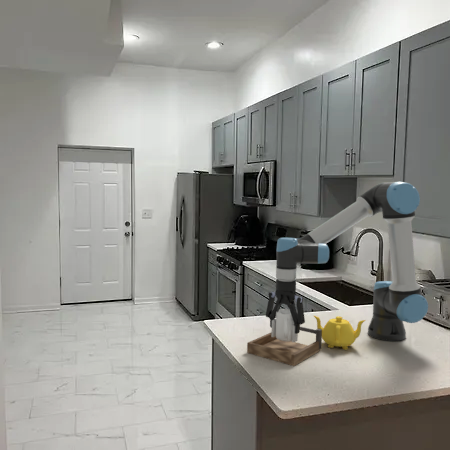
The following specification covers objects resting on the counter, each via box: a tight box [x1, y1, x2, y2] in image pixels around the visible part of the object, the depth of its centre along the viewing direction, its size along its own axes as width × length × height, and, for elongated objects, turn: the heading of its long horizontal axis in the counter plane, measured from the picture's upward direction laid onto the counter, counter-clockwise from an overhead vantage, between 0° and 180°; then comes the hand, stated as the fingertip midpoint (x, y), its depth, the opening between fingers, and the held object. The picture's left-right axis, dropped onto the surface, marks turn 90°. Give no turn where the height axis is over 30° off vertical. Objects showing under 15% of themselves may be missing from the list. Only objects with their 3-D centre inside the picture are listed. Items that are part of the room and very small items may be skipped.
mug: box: [275, 308, 294, 342], centre depth 172 cm, size 12×8×10 cm
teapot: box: [313, 315, 366, 351], centre depth 180 cm, size 20×15×12 cm
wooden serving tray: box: [246, 326, 323, 367], centre depth 173 cm, size 20×20×8 cm
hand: (284, 338), depth 173 cm, fingers closed on mug, 8 cm apart
